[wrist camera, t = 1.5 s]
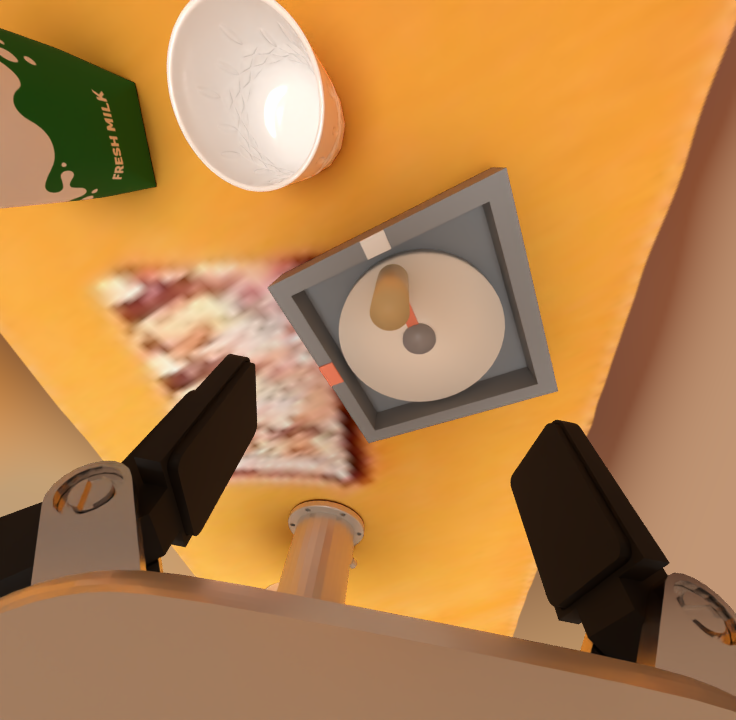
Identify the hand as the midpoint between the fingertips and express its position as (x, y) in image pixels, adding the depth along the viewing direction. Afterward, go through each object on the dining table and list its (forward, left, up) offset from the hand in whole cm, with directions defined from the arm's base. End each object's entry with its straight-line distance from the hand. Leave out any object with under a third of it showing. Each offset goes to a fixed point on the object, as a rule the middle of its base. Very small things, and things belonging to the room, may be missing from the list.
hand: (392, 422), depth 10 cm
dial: (-7, +1, -20) cm, 21 cm away
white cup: (+12, +3, -22) cm, 25 cm away
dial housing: (-7, +1, -22) cm, 23 cm away
